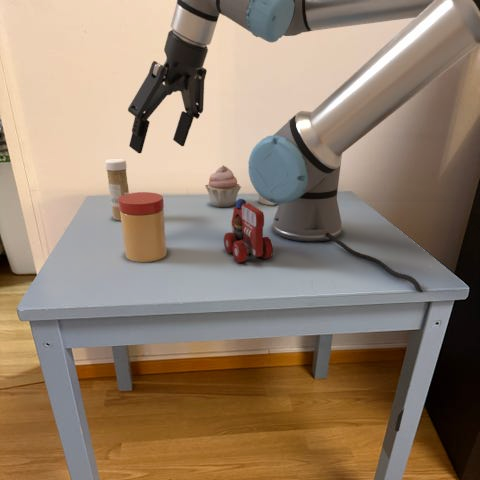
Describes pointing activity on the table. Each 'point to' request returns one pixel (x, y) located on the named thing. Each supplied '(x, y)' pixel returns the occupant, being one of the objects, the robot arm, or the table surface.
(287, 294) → the table surface
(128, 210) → the lid
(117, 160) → the sprinkles bottle
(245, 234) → the toy fire truck
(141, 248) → the jar
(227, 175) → the cupcake
